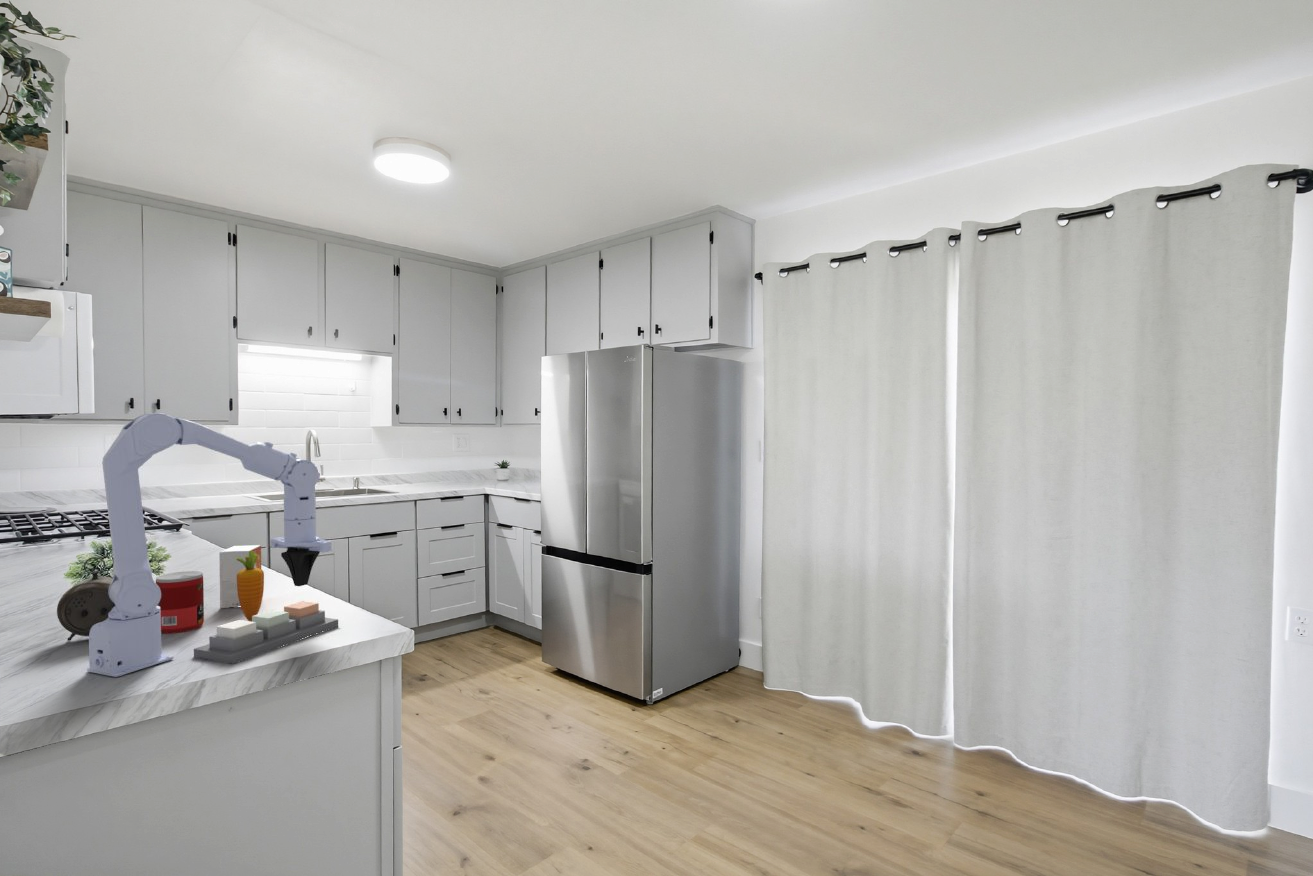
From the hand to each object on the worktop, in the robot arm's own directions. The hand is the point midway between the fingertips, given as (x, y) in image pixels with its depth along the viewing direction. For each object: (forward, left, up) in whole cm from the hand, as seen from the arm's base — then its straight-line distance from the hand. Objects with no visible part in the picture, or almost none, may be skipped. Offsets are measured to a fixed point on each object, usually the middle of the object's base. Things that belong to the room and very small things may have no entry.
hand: (301, 585), depth 136 cm
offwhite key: (-14, 0, -6) cm, 15 cm away
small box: (+10, +31, -10) cm, 34 cm away
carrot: (0, +15, -10) cm, 18 cm away
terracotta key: (0, 0, -6) cm, 6 cm away
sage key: (-7, 0, -6) cm, 9 cm away
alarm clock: (-19, +33, -10) cm, 39 cm away
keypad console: (-7, 0, -9) cm, 12 cm away
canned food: (-8, +25, -10) cm, 28 cm away
